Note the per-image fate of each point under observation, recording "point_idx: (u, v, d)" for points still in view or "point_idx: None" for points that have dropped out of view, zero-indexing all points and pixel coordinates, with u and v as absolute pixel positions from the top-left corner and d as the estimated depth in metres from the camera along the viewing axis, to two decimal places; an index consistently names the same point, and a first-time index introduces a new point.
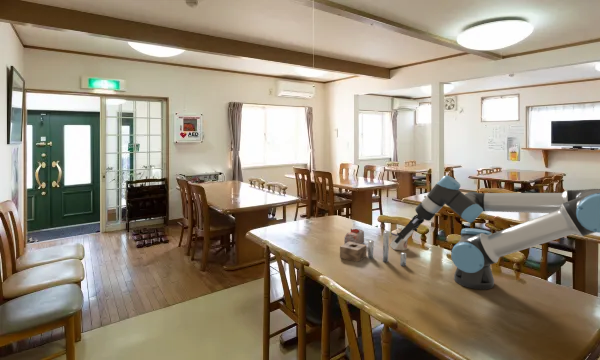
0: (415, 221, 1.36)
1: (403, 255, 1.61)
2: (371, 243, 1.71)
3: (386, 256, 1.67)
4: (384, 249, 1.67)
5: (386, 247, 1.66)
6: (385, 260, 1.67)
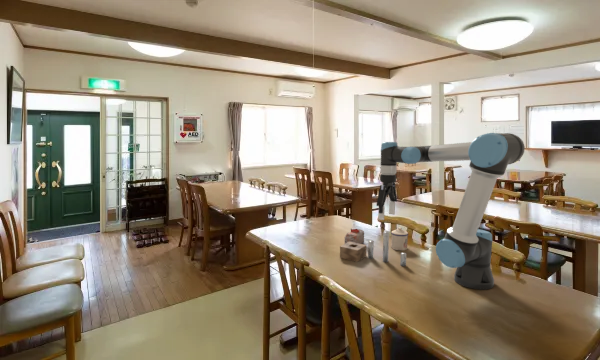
0: (382, 187, 1.57)
1: (403, 255, 1.61)
2: (371, 243, 1.71)
3: (386, 256, 1.67)
4: (384, 249, 1.67)
5: (386, 247, 1.66)
6: (385, 260, 1.67)
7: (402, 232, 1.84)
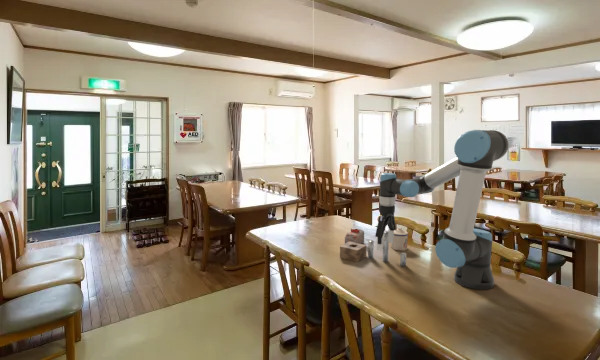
0: (381, 218, 1.60)
1: (403, 255, 1.61)
2: (371, 243, 1.71)
3: (386, 256, 1.67)
4: (384, 249, 1.67)
5: (386, 247, 1.66)
6: (385, 260, 1.67)
7: (402, 232, 1.84)
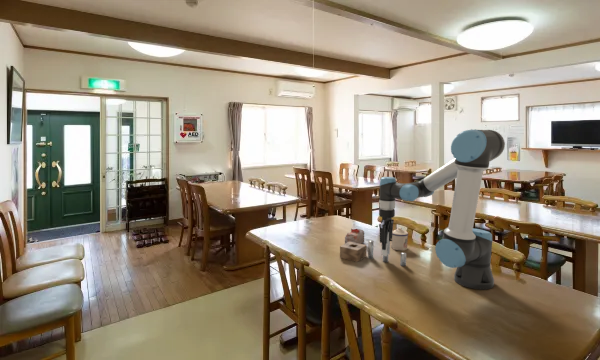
0: (382, 226, 1.61)
1: (403, 255, 1.61)
2: (371, 243, 1.71)
3: (386, 256, 1.67)
4: None
5: None
6: (385, 260, 1.67)
7: (402, 232, 1.84)
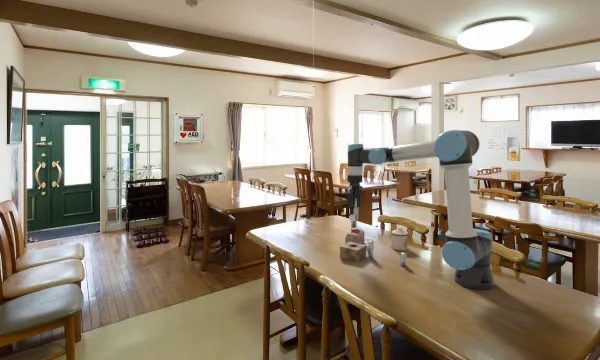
0: (349, 191, 1.65)
1: (403, 255, 1.61)
2: (371, 243, 1.71)
3: (354, 222, 1.71)
4: None
5: None
6: (353, 226, 1.71)
7: (402, 232, 1.84)
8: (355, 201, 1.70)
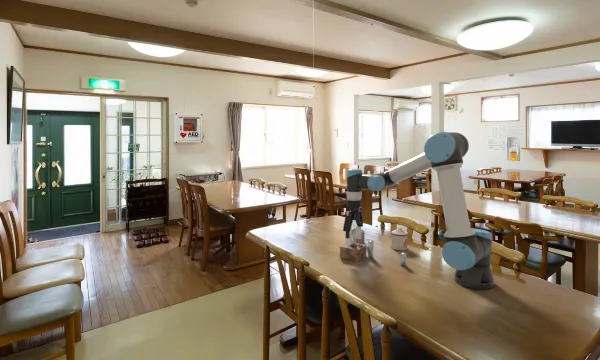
0: (348, 213, 1.66)
1: (403, 255, 1.61)
2: (371, 243, 1.71)
3: None
4: (351, 245, 1.73)
5: (353, 243, 1.72)
6: None
7: (402, 232, 1.84)
8: (354, 232, 1.71)
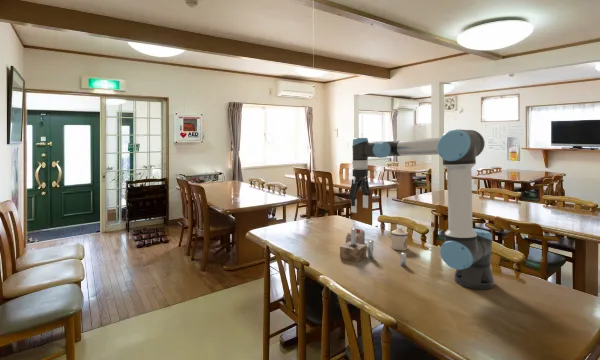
0: (354, 180, 1.64)
1: (403, 255, 1.61)
2: (371, 243, 1.71)
3: None
4: (352, 245, 1.73)
5: (353, 243, 1.73)
6: None
7: (402, 232, 1.84)
8: (354, 231, 1.72)
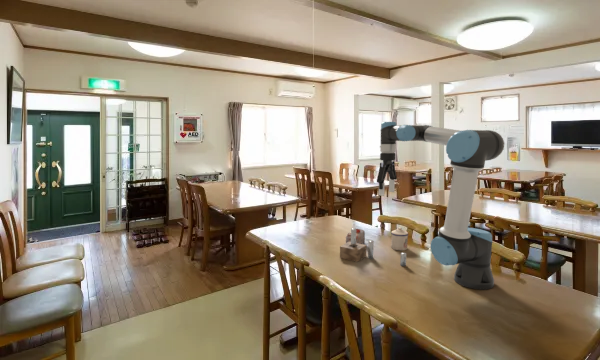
0: (382, 164, 1.66)
1: (403, 255, 1.61)
2: (371, 243, 1.71)
3: None
4: (351, 245, 1.73)
5: (353, 243, 1.73)
6: None
7: (402, 232, 1.84)
8: (354, 231, 1.72)
